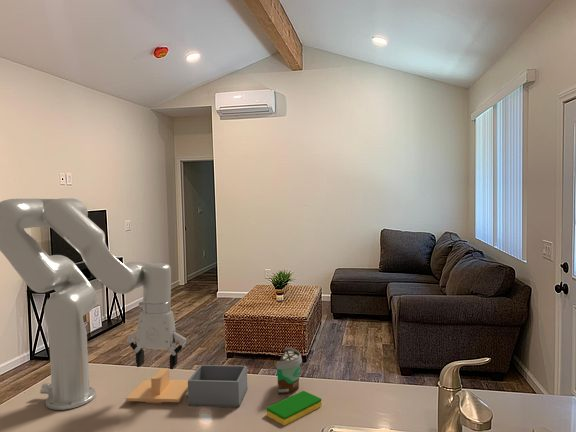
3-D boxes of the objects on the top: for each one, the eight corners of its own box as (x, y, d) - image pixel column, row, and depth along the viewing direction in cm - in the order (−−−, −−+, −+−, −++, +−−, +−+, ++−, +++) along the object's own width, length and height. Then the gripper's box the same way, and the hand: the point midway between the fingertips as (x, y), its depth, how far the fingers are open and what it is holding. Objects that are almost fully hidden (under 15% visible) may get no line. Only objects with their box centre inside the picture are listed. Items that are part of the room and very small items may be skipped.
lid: (126, 405, 118) (125, 382, 117) (144, 385, 130) (143, 364, 129) (179, 406, 116) (178, 383, 116) (193, 386, 128) (192, 365, 128)
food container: (298, 398, 119) (297, 363, 119) (277, 397, 120) (276, 362, 120) (305, 379, 131) (305, 347, 131) (286, 378, 132) (285, 346, 132)
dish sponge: (322, 407, 115) (322, 398, 115) (284, 427, 105) (284, 417, 105) (303, 398, 120) (303, 390, 120) (265, 416, 111) (265, 407, 110)
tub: (188, 406, 116) (187, 380, 116) (201, 387, 127) (200, 364, 127) (239, 407, 115) (238, 382, 115) (247, 389, 126) (246, 365, 125)
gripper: (121, 309, 119) (121, 369, 120) (181, 312, 117) (181, 373, 118) (134, 302, 127) (133, 359, 127) (190, 305, 125) (190, 363, 125)
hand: (156, 366), depth 123 cm, fingers open, 9 cm apart
